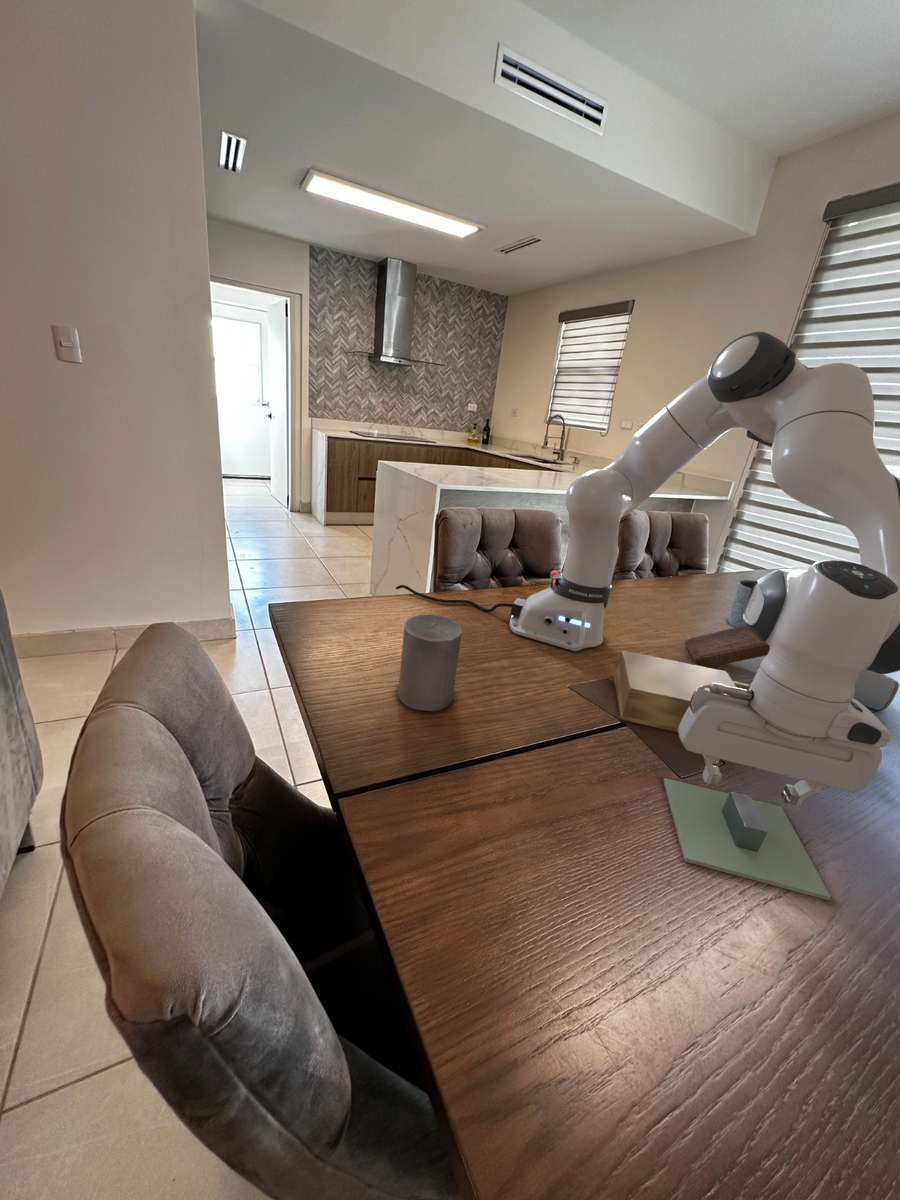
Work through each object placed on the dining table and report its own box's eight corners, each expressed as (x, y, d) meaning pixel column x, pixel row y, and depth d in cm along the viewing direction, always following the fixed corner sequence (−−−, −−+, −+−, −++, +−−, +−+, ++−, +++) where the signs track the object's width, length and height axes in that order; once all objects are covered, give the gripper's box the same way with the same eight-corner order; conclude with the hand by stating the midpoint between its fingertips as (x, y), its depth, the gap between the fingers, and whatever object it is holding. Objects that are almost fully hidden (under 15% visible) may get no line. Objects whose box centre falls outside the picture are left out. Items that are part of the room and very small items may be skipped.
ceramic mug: (884, 718, 94) (902, 685, 91) (834, 699, 99) (850, 667, 96) (883, 699, 101) (901, 669, 99) (837, 683, 106) (852, 653, 103)
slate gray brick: (735, 846, 59) (745, 826, 58) (721, 810, 65) (730, 791, 64) (757, 852, 59) (768, 832, 58) (741, 815, 64) (750, 796, 63)
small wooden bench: (709, 716, 108) (864, 688, 98) (694, 658, 103) (855, 623, 94) (697, 692, 117) (837, 664, 108) (683, 638, 113) (828, 604, 103)
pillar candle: (427, 675, 89) (435, 603, 83) (464, 700, 83) (475, 624, 77) (386, 692, 83) (392, 614, 77) (422, 720, 76) (432, 638, 71)
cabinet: (715, 699, 93) (726, 671, 91) (739, 746, 80) (753, 714, 77) (613, 678, 96) (621, 649, 94) (620, 719, 83) (630, 688, 81)
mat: (684, 861, 57) (685, 858, 57) (663, 780, 70) (664, 777, 70) (829, 901, 54) (831, 897, 54) (780, 809, 67) (781, 806, 67)
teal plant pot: (765, 625, 134) (781, 586, 129) (765, 637, 126) (782, 596, 121) (725, 614, 138) (740, 576, 134) (723, 625, 130) (738, 585, 126)
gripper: (705, 693, 53) (667, 786, 59) (910, 740, 50) (850, 834, 55) (692, 666, 59) (659, 753, 64) (875, 707, 55) (824, 795, 61)
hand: (748, 791), depth 60 cm, fingers open, 8 cm apart
